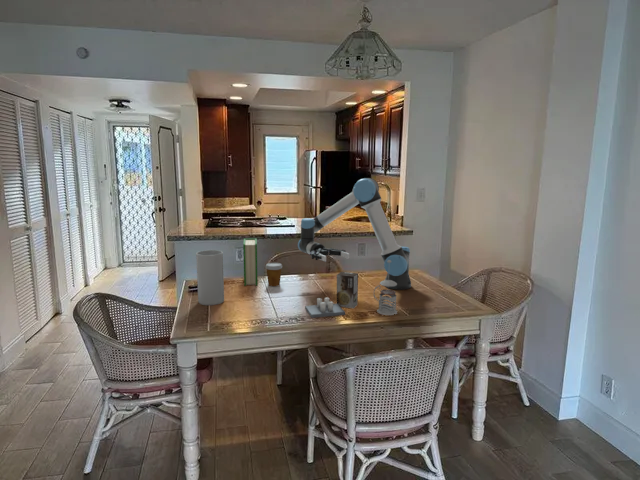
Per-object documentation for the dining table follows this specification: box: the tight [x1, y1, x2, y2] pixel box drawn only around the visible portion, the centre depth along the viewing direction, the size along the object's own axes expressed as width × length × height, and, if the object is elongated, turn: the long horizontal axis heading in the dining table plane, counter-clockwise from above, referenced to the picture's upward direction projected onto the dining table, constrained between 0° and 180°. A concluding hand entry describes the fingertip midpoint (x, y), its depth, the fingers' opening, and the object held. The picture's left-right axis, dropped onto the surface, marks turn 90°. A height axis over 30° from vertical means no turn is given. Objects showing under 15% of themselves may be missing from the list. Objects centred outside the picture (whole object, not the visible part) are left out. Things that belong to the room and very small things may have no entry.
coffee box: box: [336, 271, 359, 310], centre depth 205 cm, size 9×6×16 cm
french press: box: [373, 260, 398, 316], centre depth 197 cm, size 10×12×25 cm
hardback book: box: [242, 237, 258, 287], centre depth 244 cm, size 18×7×24 cm, turn 9°
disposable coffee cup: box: [265, 262, 283, 287], centre depth 239 cm, size 10×10×12 cm
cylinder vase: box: [195, 249, 225, 306], centre depth 208 cm, size 12×12×25 cm
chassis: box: [304, 297, 346, 319], centre depth 197 cm, size 16×12×6 cm
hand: (337, 257), depth 211 cm, fingers open, 13 cm apart
